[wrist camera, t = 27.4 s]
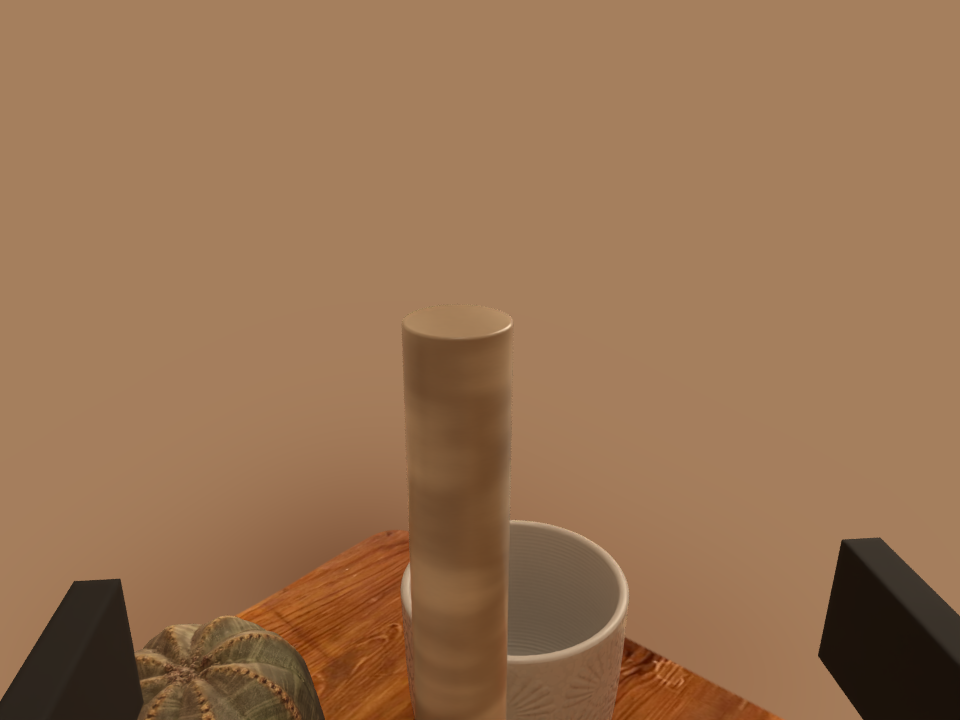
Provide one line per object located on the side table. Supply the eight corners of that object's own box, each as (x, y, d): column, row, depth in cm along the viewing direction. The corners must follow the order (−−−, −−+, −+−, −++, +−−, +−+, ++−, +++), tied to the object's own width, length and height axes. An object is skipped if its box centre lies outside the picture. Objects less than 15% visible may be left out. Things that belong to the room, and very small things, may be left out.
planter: (518, 876, 38) (523, 703, 34) (364, 733, 46) (354, 580, 43) (658, 732, 47) (674, 580, 43) (506, 632, 55) (508, 497, 51)
